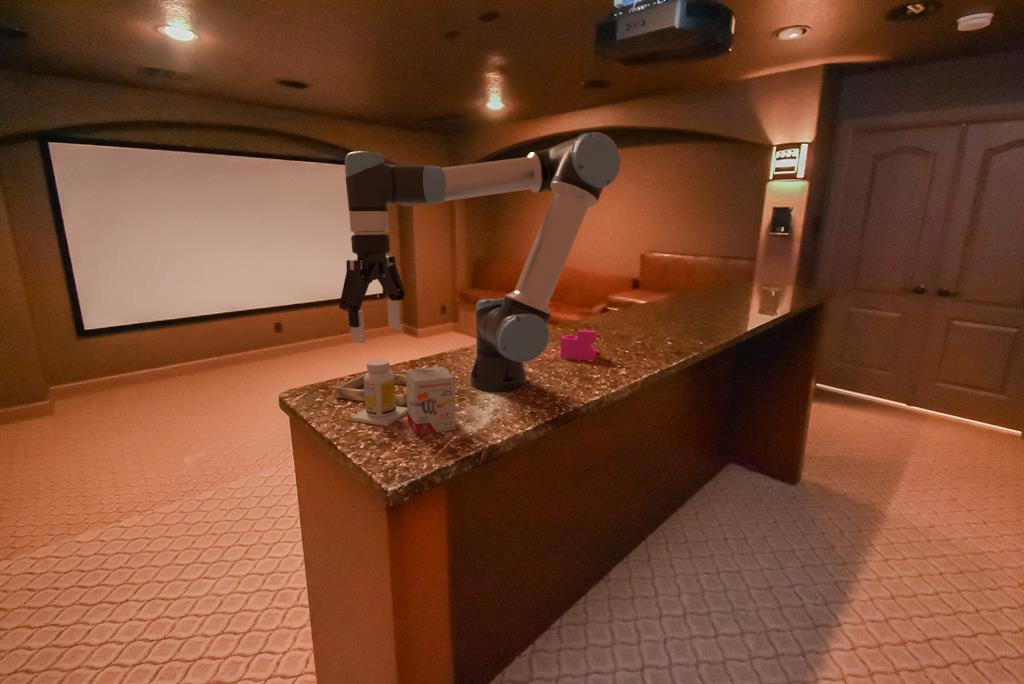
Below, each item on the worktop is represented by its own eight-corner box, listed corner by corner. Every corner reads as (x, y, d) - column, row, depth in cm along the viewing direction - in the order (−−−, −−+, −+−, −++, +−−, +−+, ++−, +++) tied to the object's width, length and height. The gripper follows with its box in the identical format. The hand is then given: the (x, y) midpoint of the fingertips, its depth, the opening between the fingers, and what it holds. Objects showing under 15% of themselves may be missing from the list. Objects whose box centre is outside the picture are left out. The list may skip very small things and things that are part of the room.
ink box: (415, 436, 96) (413, 380, 93) (407, 421, 103) (404, 368, 101) (456, 429, 99) (455, 375, 96) (445, 415, 107) (444, 364, 104)
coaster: (409, 411, 109) (409, 407, 109) (387, 426, 100) (387, 422, 100) (375, 406, 112) (375, 403, 111) (351, 420, 103) (351, 417, 103)
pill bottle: (400, 408, 108) (398, 359, 106) (388, 419, 102) (385, 367, 99) (374, 406, 110) (371, 357, 107) (360, 416, 103) (356, 365, 101)
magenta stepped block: (593, 364, 148) (594, 332, 145) (560, 362, 151) (561, 330, 148) (597, 355, 159) (598, 325, 157) (566, 353, 162) (567, 323, 159)
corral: (431, 387, 125) (430, 378, 125) (402, 406, 112) (401, 396, 111) (370, 380, 131) (369, 371, 130) (335, 397, 117) (335, 387, 117)
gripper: (387, 232, 110) (394, 323, 115) (312, 234, 86) (324, 347, 91) (416, 232, 107) (422, 324, 112) (346, 234, 84) (357, 350, 89)
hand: (378, 335), depth 102 cm, fingers open, 13 cm apart
